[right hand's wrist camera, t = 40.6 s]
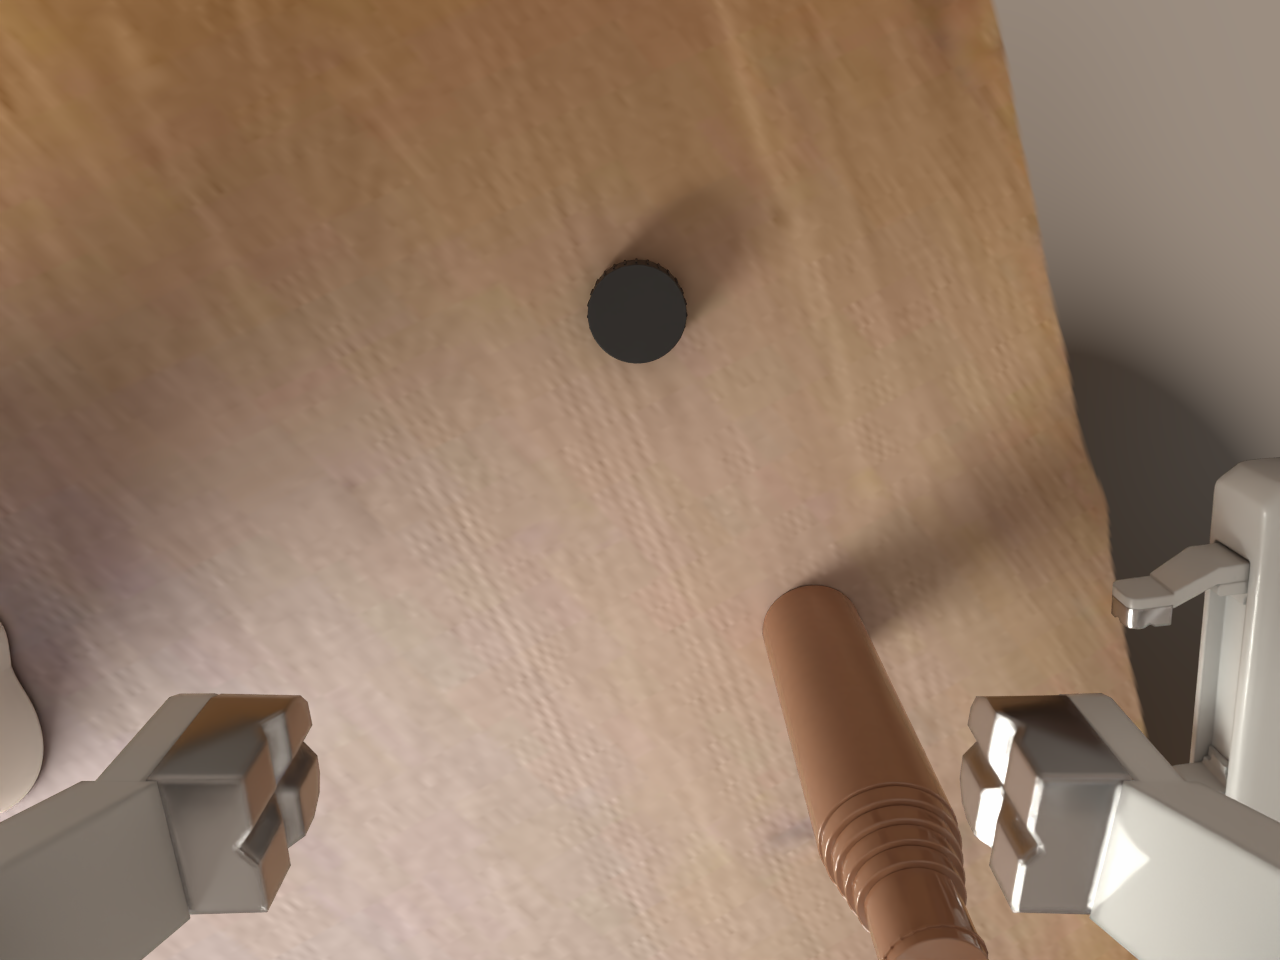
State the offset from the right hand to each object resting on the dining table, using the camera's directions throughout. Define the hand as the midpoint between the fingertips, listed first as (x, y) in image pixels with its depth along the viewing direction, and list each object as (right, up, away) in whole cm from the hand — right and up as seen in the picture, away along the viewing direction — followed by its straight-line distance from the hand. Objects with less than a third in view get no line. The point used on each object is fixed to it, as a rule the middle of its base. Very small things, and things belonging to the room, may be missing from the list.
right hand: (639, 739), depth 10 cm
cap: (0, +11, +29) cm, 31 cm away
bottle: (+9, -5, +36) cm, 38 cm away
